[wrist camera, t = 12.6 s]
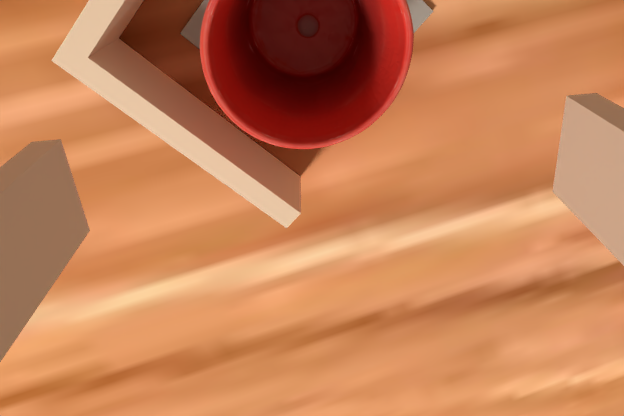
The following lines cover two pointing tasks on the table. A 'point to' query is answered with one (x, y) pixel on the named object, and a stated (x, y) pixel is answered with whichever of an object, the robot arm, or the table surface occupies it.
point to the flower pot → (305, 65)
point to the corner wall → (173, 110)
